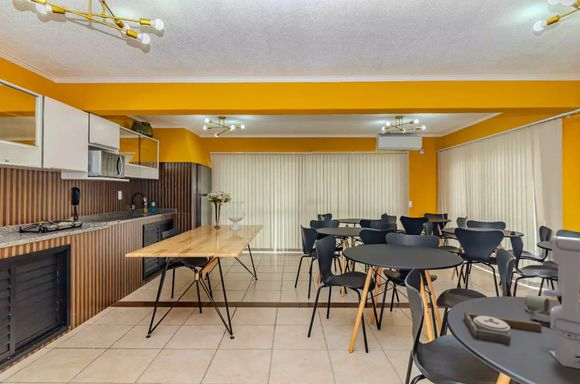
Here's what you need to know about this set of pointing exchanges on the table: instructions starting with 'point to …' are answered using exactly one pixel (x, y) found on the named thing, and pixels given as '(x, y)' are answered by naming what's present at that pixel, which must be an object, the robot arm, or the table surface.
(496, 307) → the table surface
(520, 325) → the u-shaped bar frame
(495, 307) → the table surface
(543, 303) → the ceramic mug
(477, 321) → the lid
